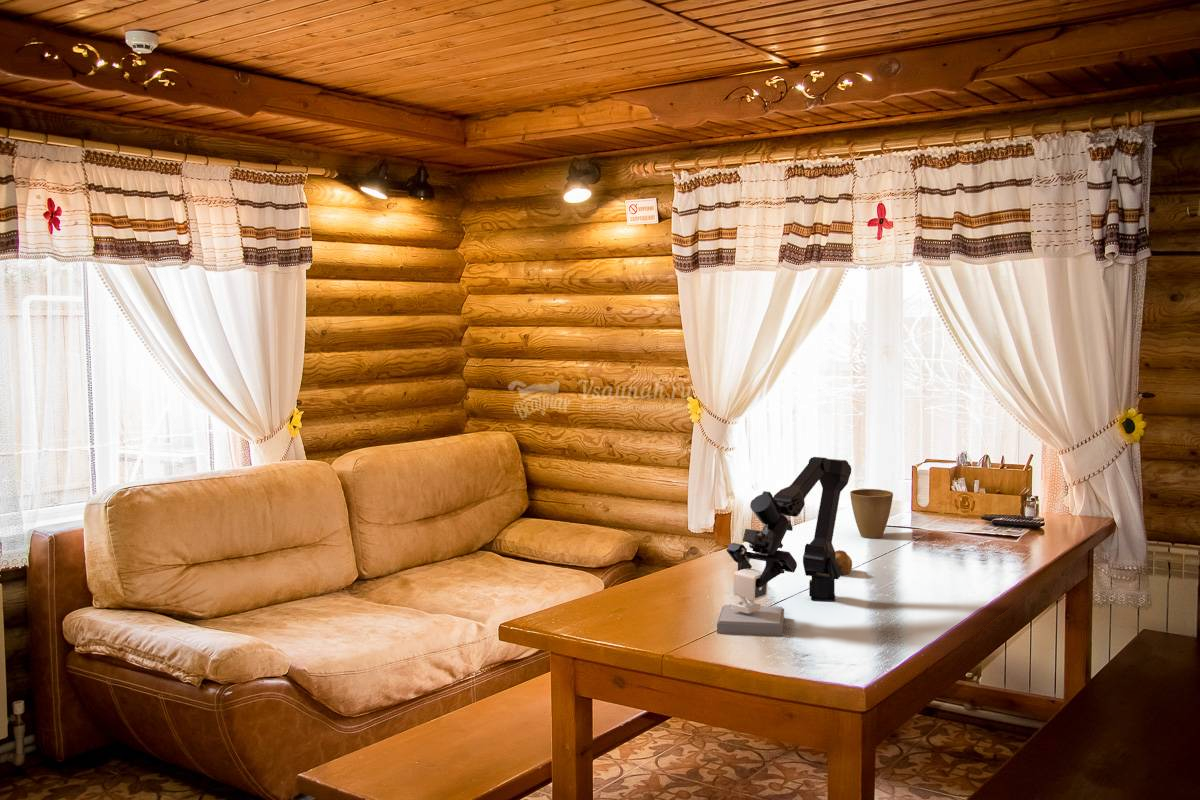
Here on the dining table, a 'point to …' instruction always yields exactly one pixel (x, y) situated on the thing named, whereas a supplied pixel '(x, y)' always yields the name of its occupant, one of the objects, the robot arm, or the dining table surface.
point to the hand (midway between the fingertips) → (748, 584)
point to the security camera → (748, 590)
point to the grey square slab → (751, 621)
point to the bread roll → (843, 561)
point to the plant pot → (871, 511)
